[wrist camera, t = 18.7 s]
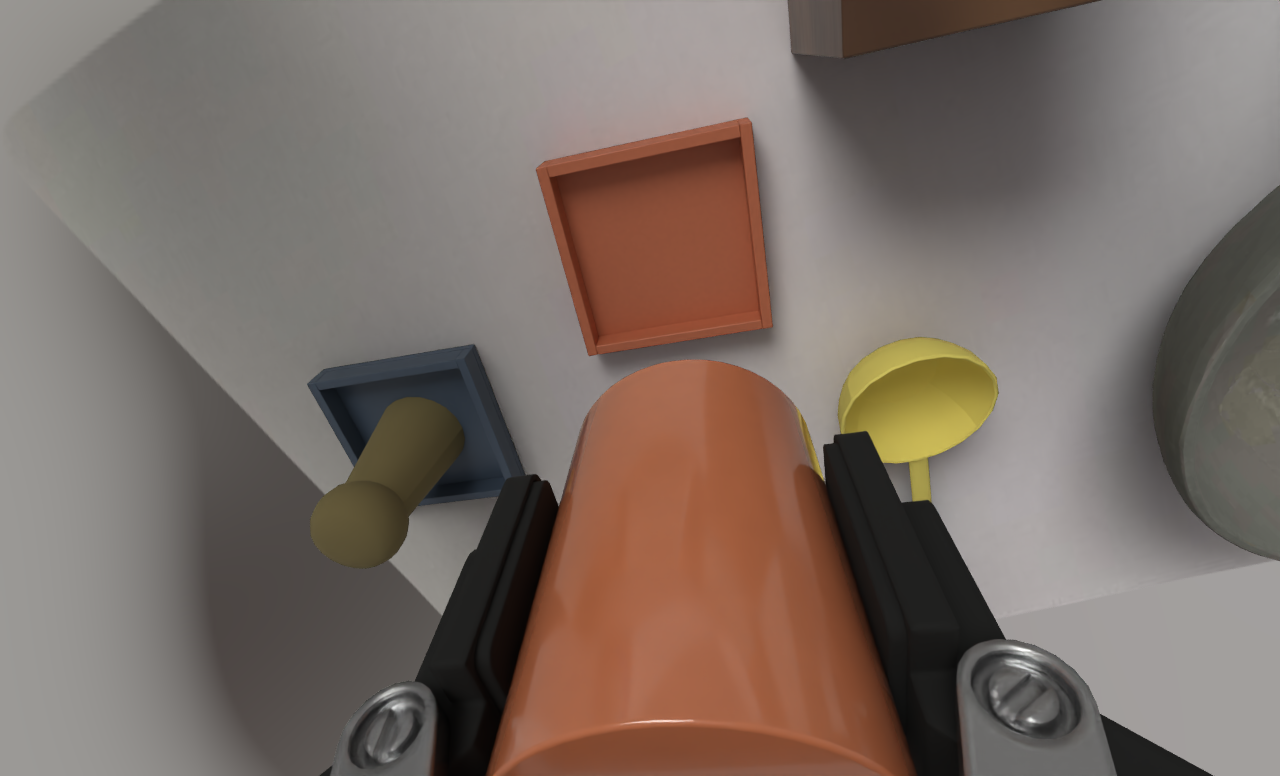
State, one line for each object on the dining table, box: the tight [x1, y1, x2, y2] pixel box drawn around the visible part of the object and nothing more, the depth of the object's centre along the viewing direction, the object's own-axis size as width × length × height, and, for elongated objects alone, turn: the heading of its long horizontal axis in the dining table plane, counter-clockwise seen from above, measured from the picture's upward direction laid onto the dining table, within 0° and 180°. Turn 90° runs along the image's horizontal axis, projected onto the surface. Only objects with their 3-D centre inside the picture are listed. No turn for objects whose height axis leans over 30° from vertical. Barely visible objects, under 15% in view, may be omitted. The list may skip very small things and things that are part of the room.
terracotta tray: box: [536, 118, 773, 356], centre depth 33 cm, size 11×11×2 cm
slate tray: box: [307, 344, 525, 506], centre depth 41 cm, size 11×11×2 cm
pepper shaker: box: [310, 397, 465, 568], centre depth 37 cm, size 6×6×11 cm
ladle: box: [838, 337, 999, 503], centre depth 40 cm, size 9×26×6 cm, turn 19°
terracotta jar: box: [486, 360, 918, 776], centre depth 9 cm, size 5×5×7 cm
